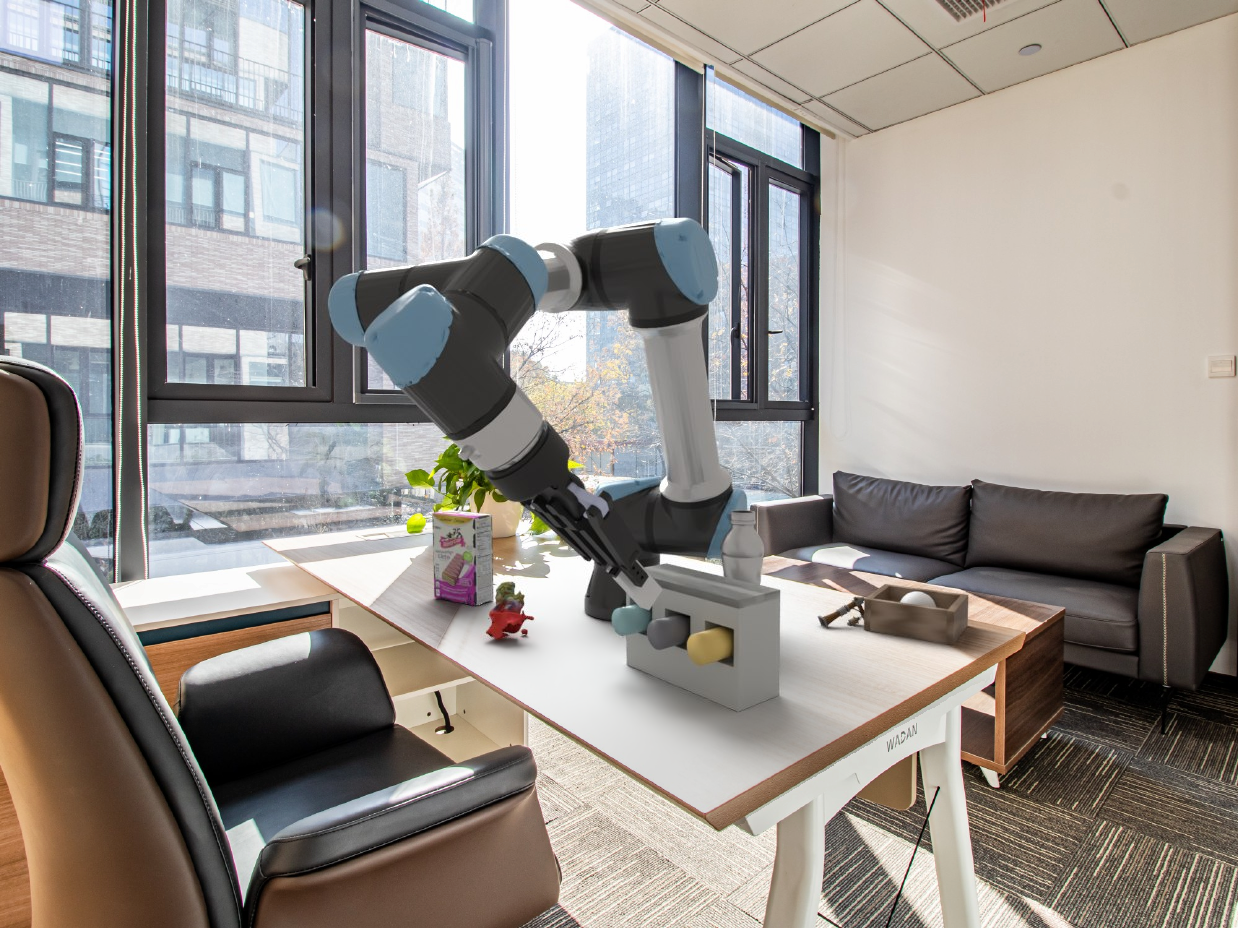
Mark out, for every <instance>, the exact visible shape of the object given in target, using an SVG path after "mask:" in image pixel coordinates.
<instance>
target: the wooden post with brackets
mask: <svg viewBox="0 0 1238 928" xmlns="http://www.w3.org/2000/svg"><path fill="white" fill-rule="evenodd" d="M865 598H866V597H864V596H859V595H858V596H854V597H853V598H852V600H851V602H849V603H848V604H843V605H842V606H841V607H839V608H838V609H836V610H835V611H833V612H831V613H830V614H826V615H824V616H822V615H818V616H817V618H818V621H819V624H820V626H823V627H824V628H826V629H829V628H830V627H829V626H830V624H831V623H833V622H834V621H835V620H837V619H838V618H840V617H841V618H842V617H843V616H845V615H847V614H848V613H850V612H851V610H855V611H857V612H859V614H860V616H857V617H856V616H854V615H853V616H852V618H850V619H847V620H848V622H846V625H847V626H848V627H849V626H853V627H854V626H855V625H860V623H859V622H860V621H861V620H863V621H864V606H863V605H864V599H865ZM856 607H857V608H856Z"/></svg>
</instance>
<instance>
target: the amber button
mask: <svg viewBox="0 0 1238 928" xmlns="http://www.w3.org/2000/svg"><path fill="white" fill-rule="evenodd" d="M687 651H688V654H689V657H690V658H691V660H692V661H693V662H694V663H695V664H696V665H699V666H703V665H706V664H709V663H712V662H715V661H718V660H721V659H725V658H728V657H731V656H734V630H733V629H732V628H729V627H725V626H721V627H717V628H713V629H710V630H706V631H703V632H699V633H696V634H693V635H691V636H690V637H689V639H688V641H687Z"/></svg>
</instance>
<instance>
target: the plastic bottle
mask: <svg viewBox="0 0 1238 928" xmlns="http://www.w3.org/2000/svg"><path fill="white" fill-rule="evenodd" d="M729 524H731V528H730V529H729V531H728V532H727V533H726V535H725V536H724V538H723V539H722V542H721V546H720V551H721V559H720V560H721V564H722V572H723V577H727V578H732V579H736V580H740V581H745V582H749V583H753V584H758V585H761V582H762V571H763V563H764V555H765V545H764V541H763V540H762V538H761V536H760V535H759V533H758V531H757V530H756V529H755V525H756V524H757V521H756V511H754V510H750V509H747V510H732V511H730V520H729Z"/></svg>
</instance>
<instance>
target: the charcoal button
mask: <svg viewBox="0 0 1238 928" xmlns="http://www.w3.org/2000/svg"><path fill="white" fill-rule="evenodd" d="M690 635H691V616H689V615H686V614H683V613H681V614H677V615H673V616H669V617H665V618H661V619H657V620H653V621H651V622H650V623H649V625H648V627H647V636H648V640H649V642H650V644H651V645H652V647H653V648H655V649H657V650H662V649H666V648H669V647H672V646H676V645H679V644H683V643H686V642H687V641H688V639H689V637H690Z"/></svg>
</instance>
